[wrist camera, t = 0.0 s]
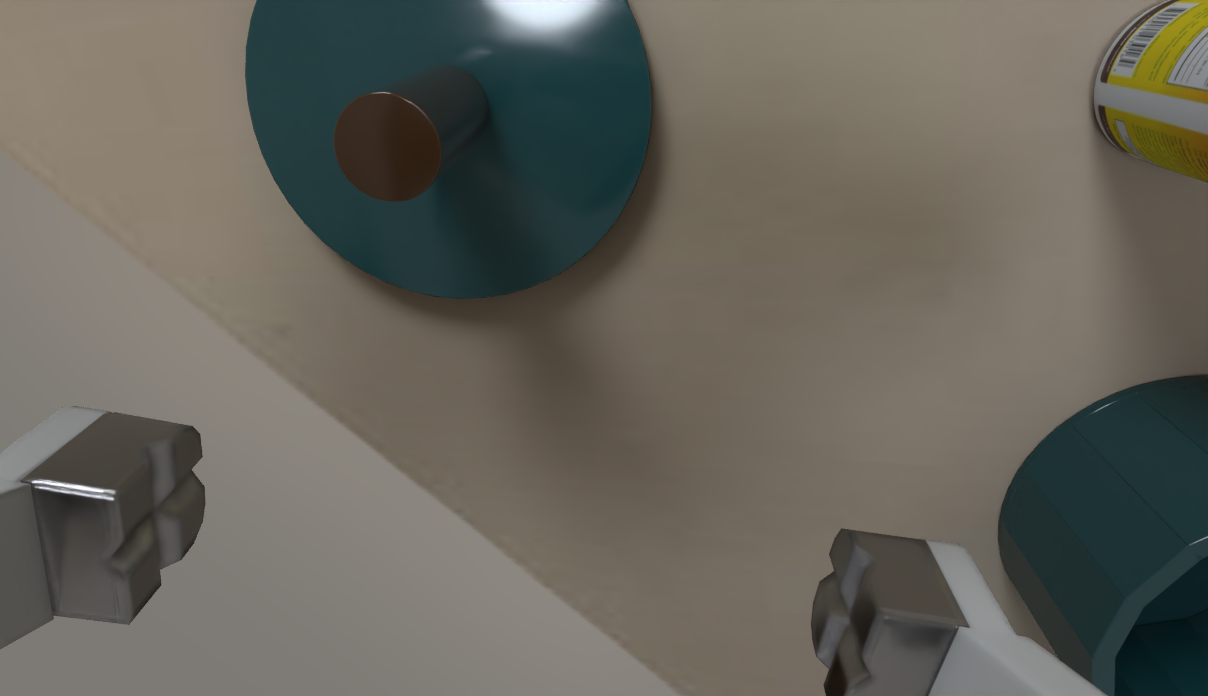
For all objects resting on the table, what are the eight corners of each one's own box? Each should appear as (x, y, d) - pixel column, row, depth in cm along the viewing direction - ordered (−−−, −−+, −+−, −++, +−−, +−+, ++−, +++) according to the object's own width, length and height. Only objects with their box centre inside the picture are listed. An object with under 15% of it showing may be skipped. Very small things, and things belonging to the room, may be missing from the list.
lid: (616, 315, 33) (608, 419, 25) (262, 258, 33) (142, 345, 25) (686, -83, 27) (704, -108, 19) (252, -158, 27) (89, -216, 19)
